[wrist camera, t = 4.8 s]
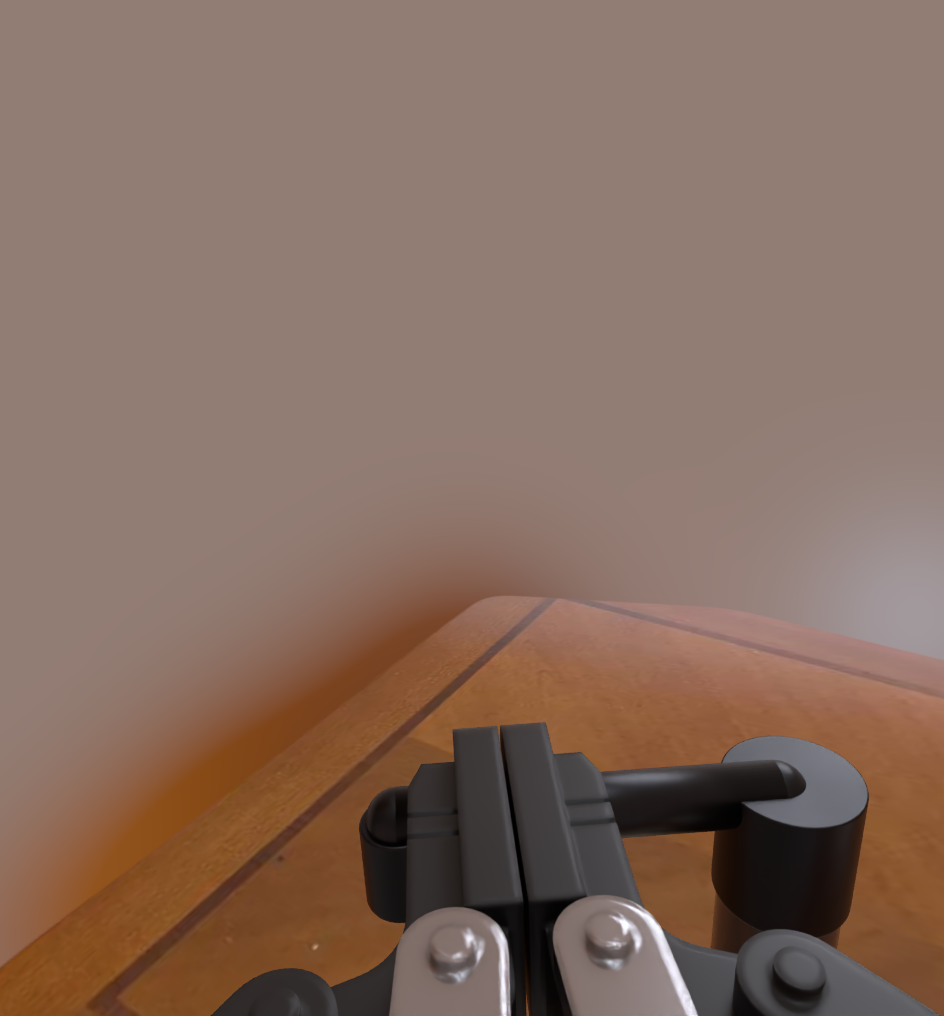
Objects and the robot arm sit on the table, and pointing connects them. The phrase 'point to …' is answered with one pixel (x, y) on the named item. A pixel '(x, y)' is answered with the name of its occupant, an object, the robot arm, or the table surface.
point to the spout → (708, 807)
